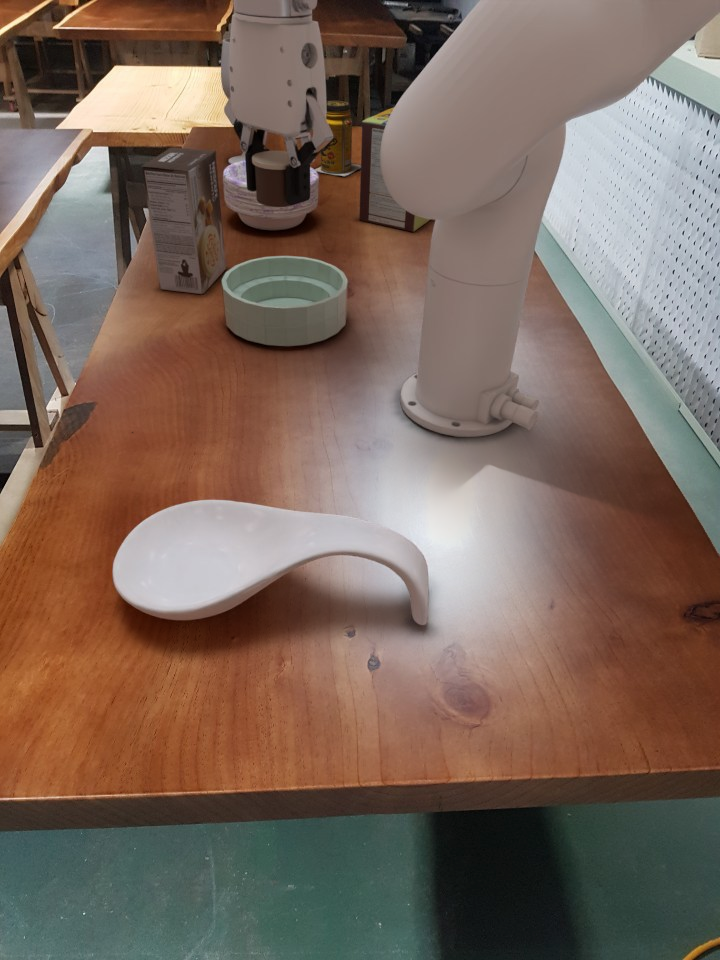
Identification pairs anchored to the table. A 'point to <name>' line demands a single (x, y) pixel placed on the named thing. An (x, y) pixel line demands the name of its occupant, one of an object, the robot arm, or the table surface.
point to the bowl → (285, 300)
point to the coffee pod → (271, 177)
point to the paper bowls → (258, 213)
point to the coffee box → (185, 218)
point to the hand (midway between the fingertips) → (278, 193)
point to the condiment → (338, 141)
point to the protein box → (380, 181)
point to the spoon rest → (246, 555)
